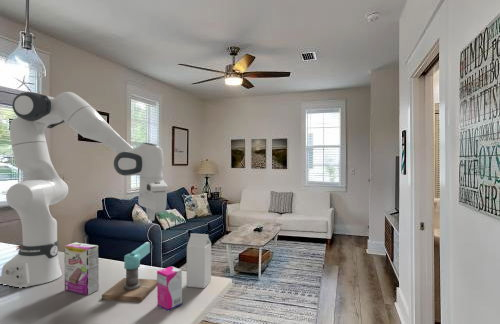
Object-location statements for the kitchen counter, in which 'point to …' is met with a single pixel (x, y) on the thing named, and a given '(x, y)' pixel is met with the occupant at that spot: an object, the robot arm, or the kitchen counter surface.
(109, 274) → the kitchen counter surface
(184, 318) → the kitchen counter surface
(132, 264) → the teal lever handle
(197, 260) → the milk carton
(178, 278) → the supplement box
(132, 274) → the tan square panel
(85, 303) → the kitchen counter surface
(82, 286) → the candy bar box
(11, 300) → the kitchen counter surface
